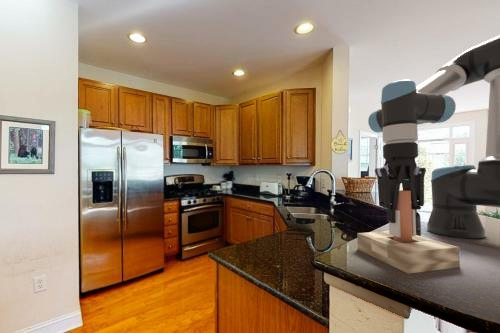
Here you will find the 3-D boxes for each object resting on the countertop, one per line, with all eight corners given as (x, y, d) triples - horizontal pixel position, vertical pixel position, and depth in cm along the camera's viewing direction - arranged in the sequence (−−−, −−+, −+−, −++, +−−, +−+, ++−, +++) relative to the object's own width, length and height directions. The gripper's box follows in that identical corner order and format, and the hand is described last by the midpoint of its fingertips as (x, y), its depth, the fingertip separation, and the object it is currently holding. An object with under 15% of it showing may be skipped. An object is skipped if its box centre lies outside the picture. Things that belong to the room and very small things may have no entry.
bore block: (399, 245, 67) (399, 230, 67) (459, 267, 52) (459, 247, 52) (357, 249, 64) (357, 233, 64) (408, 273, 49) (407, 252, 49)
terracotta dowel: (402, 243, 60) (401, 189, 61) (416, 247, 57) (414, 191, 57) (389, 244, 60) (388, 190, 60) (403, 249, 56) (401, 191, 56)
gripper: (413, 145, 64) (416, 229, 64) (360, 144, 61) (363, 233, 60) (441, 141, 57) (444, 236, 56) (382, 140, 53) (385, 241, 53)
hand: (402, 234), depth 58 cm, fingers closed on terracotta dowel, 4 cm apart
